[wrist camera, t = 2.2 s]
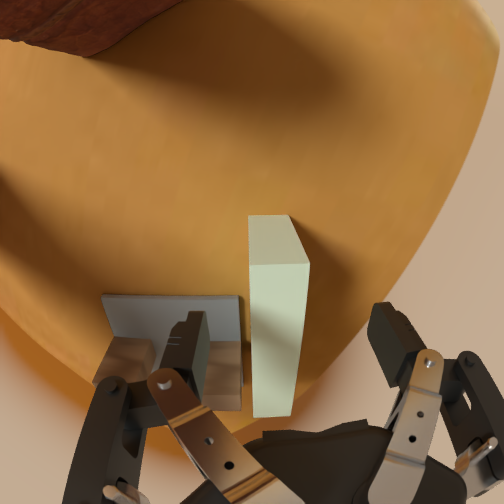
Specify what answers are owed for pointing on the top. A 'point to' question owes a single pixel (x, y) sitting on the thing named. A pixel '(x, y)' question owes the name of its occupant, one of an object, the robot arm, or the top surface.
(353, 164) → the top surface
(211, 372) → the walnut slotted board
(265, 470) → the robot arm
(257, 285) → the pale green upright slab
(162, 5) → the wooden figurine
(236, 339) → the charcoal base board
